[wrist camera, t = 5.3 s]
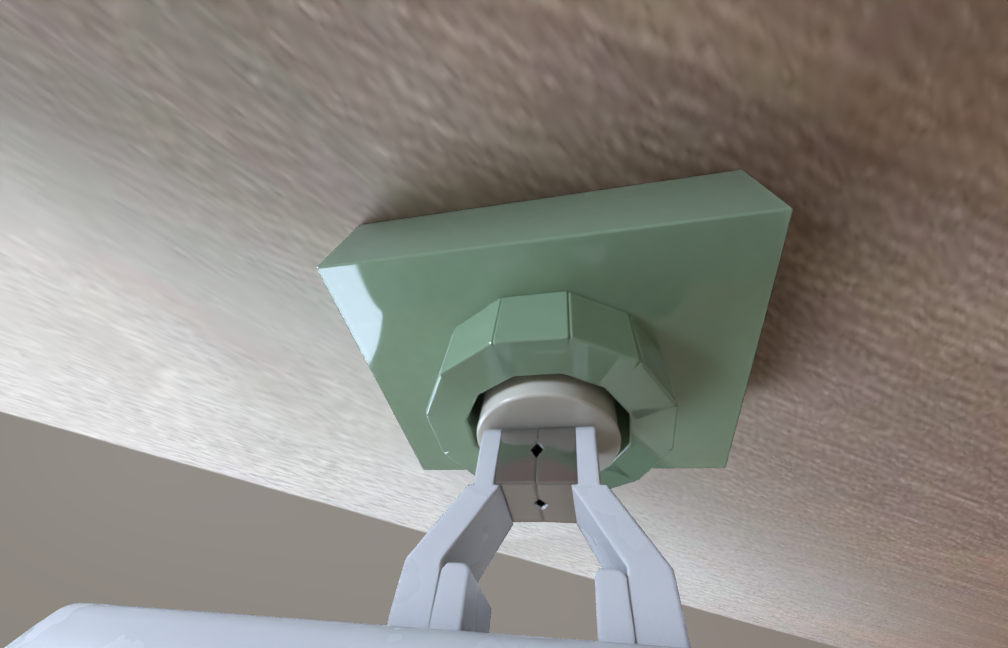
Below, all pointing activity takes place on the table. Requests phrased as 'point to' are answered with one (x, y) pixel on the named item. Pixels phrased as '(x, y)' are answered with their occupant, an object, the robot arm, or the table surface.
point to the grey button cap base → (571, 311)
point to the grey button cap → (553, 409)
